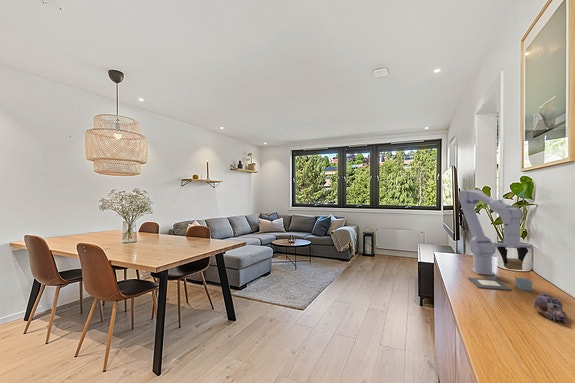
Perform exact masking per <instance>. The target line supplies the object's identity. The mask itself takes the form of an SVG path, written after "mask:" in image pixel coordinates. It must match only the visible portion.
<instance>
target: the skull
mask: <svg viewBox="0 0 575 383" xmlns="http://www.w3.org/2000/svg"><path fill="white" fill-rule="evenodd" d="M533 307H534V309H537V310H538V312H540V314H543V315H544V317H546V318H548V319H550V320H552V319H553V321H554V322H555V321H556V320H557V321H560V320H561V321H563V322H564V324H567V321H568V320H567V317H568V316H567V313H566V312H565V311H564V310H563V304H562V302H561V301H560V300H559V299H558V298H556V297H554V296H552V295H550V294H547V293H541V294H539V295H537V296H536V298H535V299H534V301H533Z"/></svg>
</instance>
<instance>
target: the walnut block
mask: <svg viewBox="0 0 575 383" xmlns="http://www.w3.org/2000/svg"><path fill="white" fill-rule="evenodd" d="M503 267H504V268H506V269H507V270H510V271H511V270H514V271H516V270H517V271H523V264H522V261H521V260H519V259H518V258H514V257H513V258H512V257H507V264H505V263H503Z"/></svg>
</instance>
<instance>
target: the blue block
mask: <svg viewBox="0 0 575 383" xmlns="http://www.w3.org/2000/svg"><path fill="white" fill-rule="evenodd" d="M515 287H516V288H517V289H518V290H522V291H531V290H532V291H533V281H532V280H530V279H529V278H524V277H515Z"/></svg>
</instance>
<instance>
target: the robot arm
mask: <svg viewBox="0 0 575 383" xmlns="http://www.w3.org/2000/svg"><path fill="white" fill-rule="evenodd" d="M457 198H458V201H459V205H460V206H461V210H462V213H463V215H464V218H465V221H466V223H467V226H468V229H469V231H470V234H471V237H472V238H471V239H470V240H469V249H470V252H471V253H472V257H473V258H472V261H473V263H472V264H473V265H472V266H473V267H472V268H470V269H471V270H472V271H473V272H474V273H475V274H476V275H488V276H496V273H494V272H493V262H492V261H493V260H492V259H493V257H494V254H495V253H496V252H497V251H496V250H498V252H499V254H500V256H501V260H502V263H503V264H504V263H505V264H507V258H508V248H509V249H516V252H517V259H519V260H521V261H522V265H523V262H524V259H525V257H526V256H527V254H528V253H529V249H530V250H533V249H534V244H532V243H525V242H523V243H522V242H521V226H520V224H521V223H520V222H521V221H520V220H522V219H523V216H524V212H523V210H522V209H521V208H519V207H517V206H515V207H514V206H511V205H510V204H508V203H505V202H504V201H503V199H494V198H491V197H490V196H488V195H487V194H485V193H484V191H483V190H481V189H461V190H460V191H459V192H458V196H457ZM480 202H481V203H483V204H485V205H487V206H489V207H488V208H489V209H490V211H493V212H494V213H496V214H498V215H499V217H500V219H501V223H502V225H503V242H493V241H492V240H491V238H489V237H488V236H486V235H485V233H484V231H483V230H484V229H483V228H482V225H481V223H480V220H479V217H478V215H477V212H476V210H475V207H477V205H478V204H479V203H480Z"/></svg>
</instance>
